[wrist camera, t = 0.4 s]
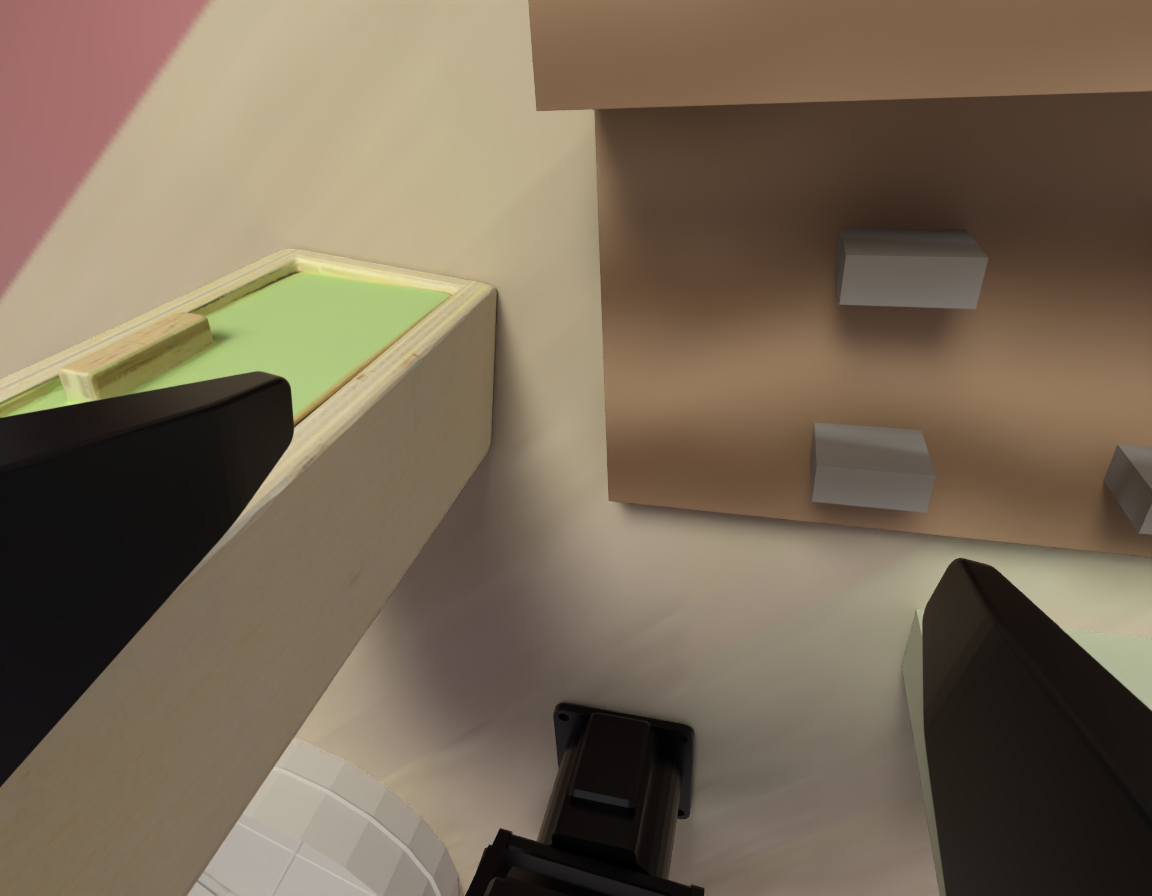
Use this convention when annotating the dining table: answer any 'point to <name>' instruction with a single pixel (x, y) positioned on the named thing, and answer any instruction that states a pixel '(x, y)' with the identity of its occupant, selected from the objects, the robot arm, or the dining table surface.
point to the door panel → (1129, 659)
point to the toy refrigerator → (252, 555)
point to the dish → (327, 837)
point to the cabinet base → (873, 258)
